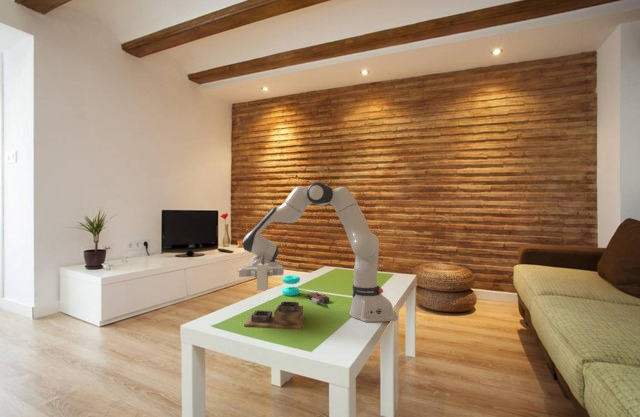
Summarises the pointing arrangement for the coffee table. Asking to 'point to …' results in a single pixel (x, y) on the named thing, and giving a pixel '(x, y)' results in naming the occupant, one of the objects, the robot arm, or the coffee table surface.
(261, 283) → the plug
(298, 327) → the brown wooden stepped base
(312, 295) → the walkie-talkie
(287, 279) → the donuts
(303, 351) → the coffee table surface
